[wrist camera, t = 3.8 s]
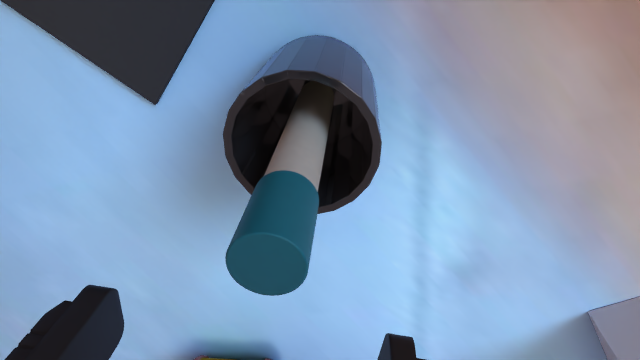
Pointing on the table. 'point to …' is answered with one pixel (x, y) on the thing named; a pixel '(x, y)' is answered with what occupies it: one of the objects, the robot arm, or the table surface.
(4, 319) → the table surface
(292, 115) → the marker
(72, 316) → the robot arm
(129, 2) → the desk mat
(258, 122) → the pen holder
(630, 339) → the red-lidded white box
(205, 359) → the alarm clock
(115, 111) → the table surface
